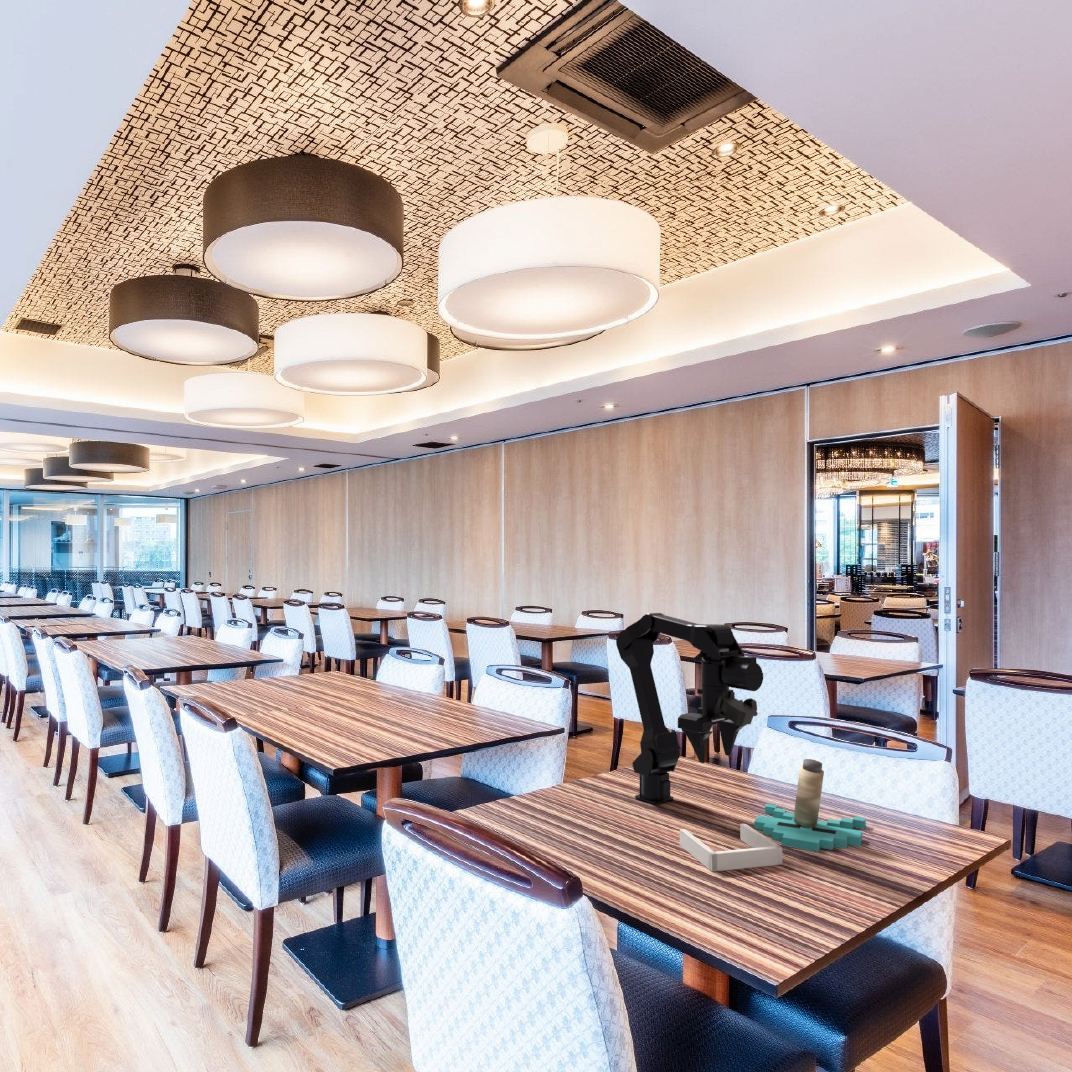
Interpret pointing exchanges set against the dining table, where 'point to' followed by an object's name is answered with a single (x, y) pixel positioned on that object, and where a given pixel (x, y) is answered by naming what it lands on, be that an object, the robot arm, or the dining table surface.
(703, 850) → the u-shaped frame
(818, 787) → the pepper mill
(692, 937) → the dining table surface
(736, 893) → the dining table surface
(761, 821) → the alien figure
